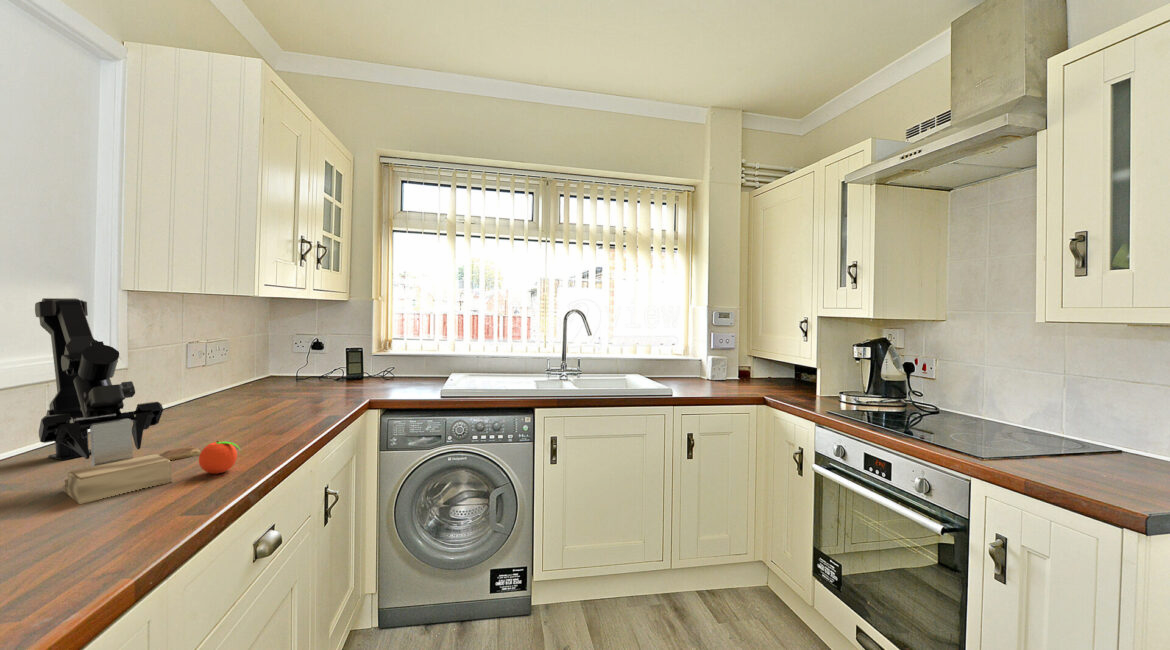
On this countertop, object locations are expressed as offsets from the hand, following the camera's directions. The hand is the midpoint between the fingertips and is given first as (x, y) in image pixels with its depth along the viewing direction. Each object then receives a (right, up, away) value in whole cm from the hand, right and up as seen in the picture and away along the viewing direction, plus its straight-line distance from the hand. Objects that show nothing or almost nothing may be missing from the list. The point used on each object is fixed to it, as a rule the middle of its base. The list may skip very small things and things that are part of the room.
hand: (114, 452), depth 104 cm
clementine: (+17, -7, +8) cm, 19 cm away
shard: (-2, -7, +19) cm, 20 cm away
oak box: (+2, -7, -1) cm, 7 cm away
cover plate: (-1, -7, +1) cm, 7 cm away
